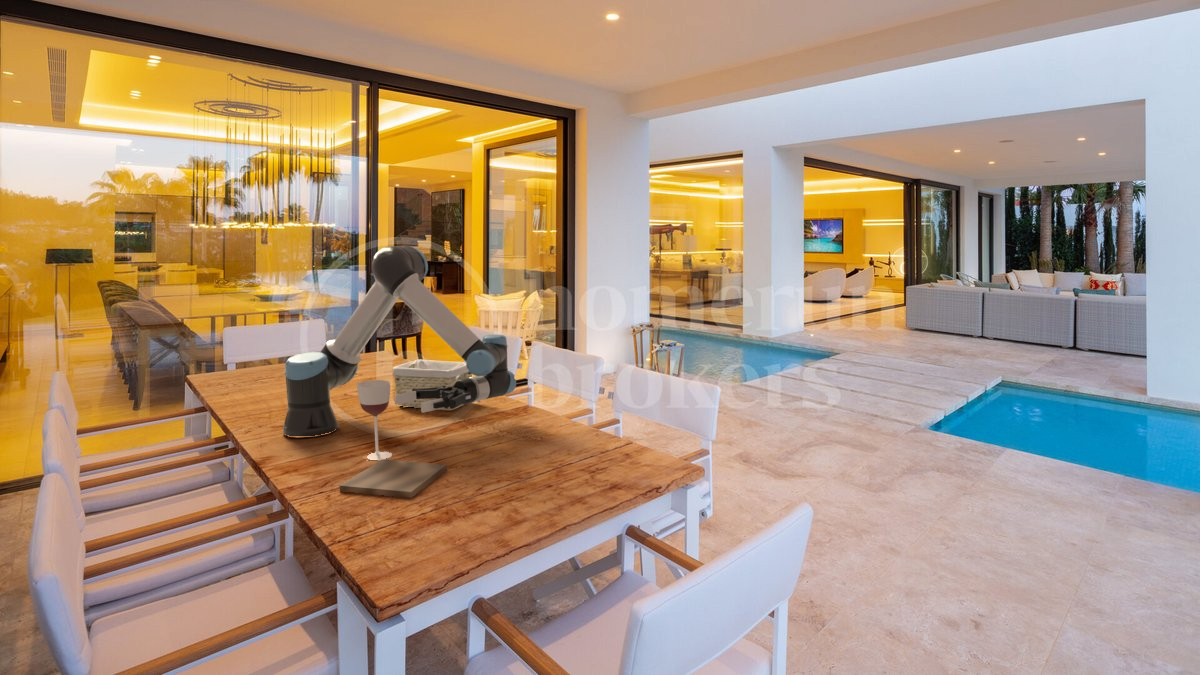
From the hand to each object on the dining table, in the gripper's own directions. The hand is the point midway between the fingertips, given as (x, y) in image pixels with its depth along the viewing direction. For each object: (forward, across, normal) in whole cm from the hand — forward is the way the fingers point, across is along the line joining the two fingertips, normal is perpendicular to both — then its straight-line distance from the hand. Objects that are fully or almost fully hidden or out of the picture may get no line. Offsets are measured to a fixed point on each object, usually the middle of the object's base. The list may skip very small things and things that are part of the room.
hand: (408, 403), depth 174 cm
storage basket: (-31, +36, -13) cm, 49 cm away
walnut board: (+16, -20, -13) cm, 28 cm away
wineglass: (+10, 0, -13) cm, 16 cm away
